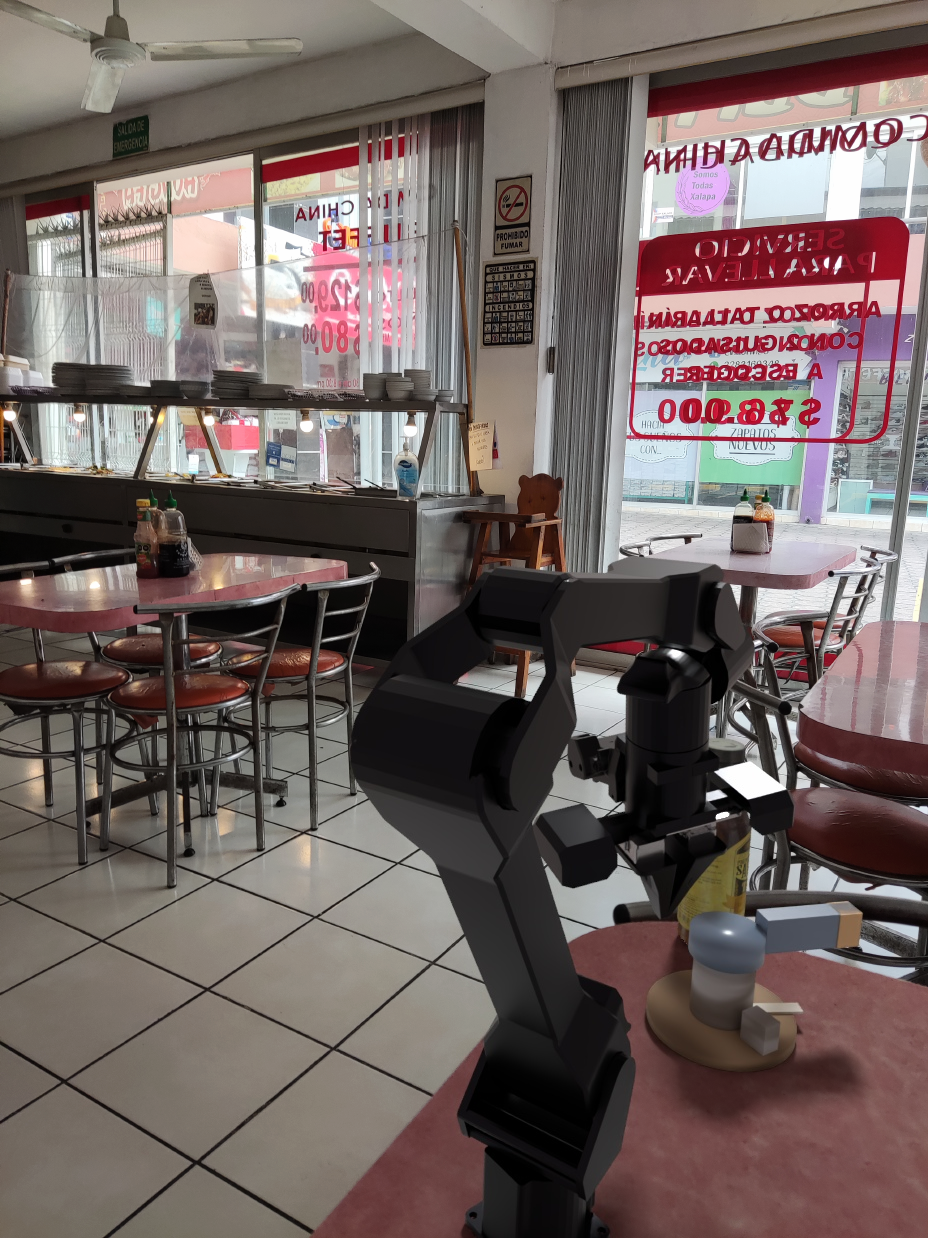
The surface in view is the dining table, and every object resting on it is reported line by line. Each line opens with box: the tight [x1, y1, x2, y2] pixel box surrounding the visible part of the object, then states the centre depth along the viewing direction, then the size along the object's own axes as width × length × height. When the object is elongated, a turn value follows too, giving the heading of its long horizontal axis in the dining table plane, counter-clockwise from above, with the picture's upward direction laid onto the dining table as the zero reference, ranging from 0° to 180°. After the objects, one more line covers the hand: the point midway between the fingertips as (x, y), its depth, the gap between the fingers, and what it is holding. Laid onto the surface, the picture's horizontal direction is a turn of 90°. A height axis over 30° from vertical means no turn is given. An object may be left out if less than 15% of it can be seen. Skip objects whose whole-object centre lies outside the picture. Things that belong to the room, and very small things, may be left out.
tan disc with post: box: [645, 957, 804, 1073], centre depth 74 cm, size 12×12×6 cm
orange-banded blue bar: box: [687, 900, 864, 974], centre depth 73 cm, size 14×6×3 cm, turn 101°
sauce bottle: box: [676, 737, 753, 945], centre depth 85 cm, size 6×6×20 cm
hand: (661, 915), depth 68 cm, fingers closed
